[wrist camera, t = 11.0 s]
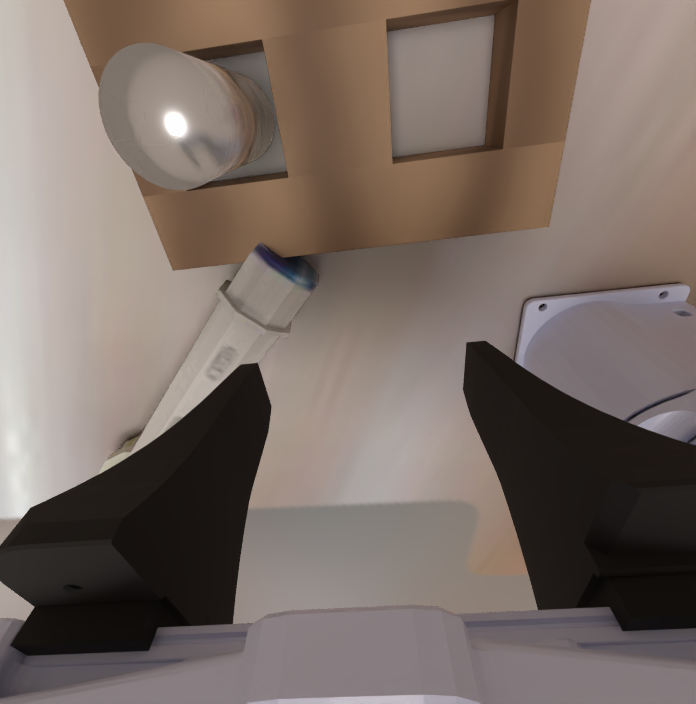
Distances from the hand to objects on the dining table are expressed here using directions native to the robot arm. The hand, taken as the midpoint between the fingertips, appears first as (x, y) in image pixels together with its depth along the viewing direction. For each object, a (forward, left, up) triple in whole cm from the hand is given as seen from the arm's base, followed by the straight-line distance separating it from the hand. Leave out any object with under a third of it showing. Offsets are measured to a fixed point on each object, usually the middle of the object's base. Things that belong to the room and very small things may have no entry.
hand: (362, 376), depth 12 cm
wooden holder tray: (0, -8, -10) cm, 13 cm away
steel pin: (+5, -8, -10) cm, 14 cm away
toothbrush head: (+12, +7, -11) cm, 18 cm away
